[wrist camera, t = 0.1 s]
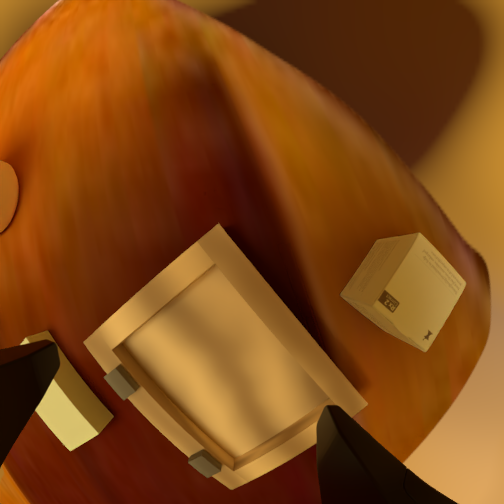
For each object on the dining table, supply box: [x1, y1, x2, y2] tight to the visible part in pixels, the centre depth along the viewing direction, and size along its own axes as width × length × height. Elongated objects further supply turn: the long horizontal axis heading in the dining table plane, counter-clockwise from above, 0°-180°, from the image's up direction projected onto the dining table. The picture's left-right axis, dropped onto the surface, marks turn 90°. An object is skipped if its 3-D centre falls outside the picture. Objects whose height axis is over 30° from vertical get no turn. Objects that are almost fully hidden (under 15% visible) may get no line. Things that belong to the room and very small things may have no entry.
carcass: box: [83, 224, 368, 490], centre depth 21 cm, size 15×19×4 cm
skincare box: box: [340, 232, 466, 352], centre depth 20 cm, size 6×6×7 cm
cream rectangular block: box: [21, 330, 114, 451], centre depth 21 cm, size 6×11×4 cm, turn 39°
